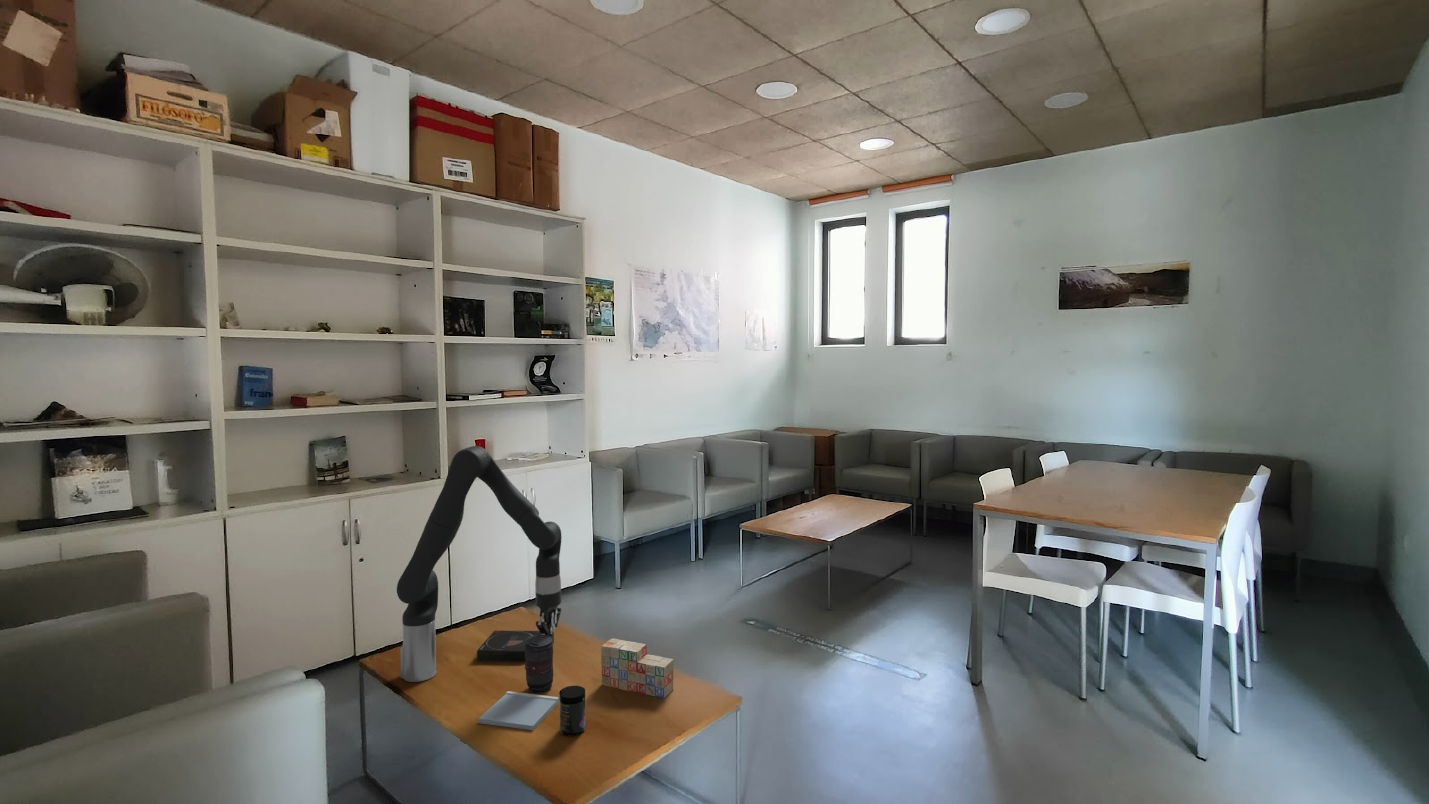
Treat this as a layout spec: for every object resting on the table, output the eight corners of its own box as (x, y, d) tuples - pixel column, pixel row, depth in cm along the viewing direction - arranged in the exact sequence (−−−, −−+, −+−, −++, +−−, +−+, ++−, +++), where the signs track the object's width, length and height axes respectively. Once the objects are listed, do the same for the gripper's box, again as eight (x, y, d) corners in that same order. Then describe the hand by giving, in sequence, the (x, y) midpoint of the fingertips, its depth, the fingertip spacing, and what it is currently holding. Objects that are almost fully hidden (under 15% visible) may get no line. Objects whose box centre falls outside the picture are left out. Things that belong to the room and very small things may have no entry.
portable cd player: (529, 663, 217) (529, 651, 217) (477, 662, 217) (477, 650, 217) (543, 642, 233) (543, 631, 233) (494, 641, 233) (494, 630, 233)
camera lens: (547, 696, 194) (545, 648, 192) (521, 693, 196) (519, 645, 194) (559, 681, 202) (557, 634, 200) (534, 679, 204) (532, 632, 202)
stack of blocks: (673, 689, 199) (674, 649, 198) (664, 699, 193) (664, 657, 192) (612, 676, 207) (611, 637, 206) (600, 685, 201) (600, 645, 201)
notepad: (478, 723, 179) (478, 717, 179) (507, 696, 194) (507, 691, 194) (533, 730, 176) (533, 724, 176) (558, 702, 191) (558, 697, 190)
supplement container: (579, 738, 172) (579, 699, 172) (555, 735, 173) (554, 696, 173) (589, 724, 179) (589, 686, 178) (565, 722, 180) (565, 684, 180)
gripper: (546, 581, 210) (547, 635, 211) (526, 595, 197) (527, 653, 198) (569, 582, 208) (570, 637, 209) (549, 597, 195) (551, 655, 196)
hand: (549, 644), depth 204 cm, fingers closed
